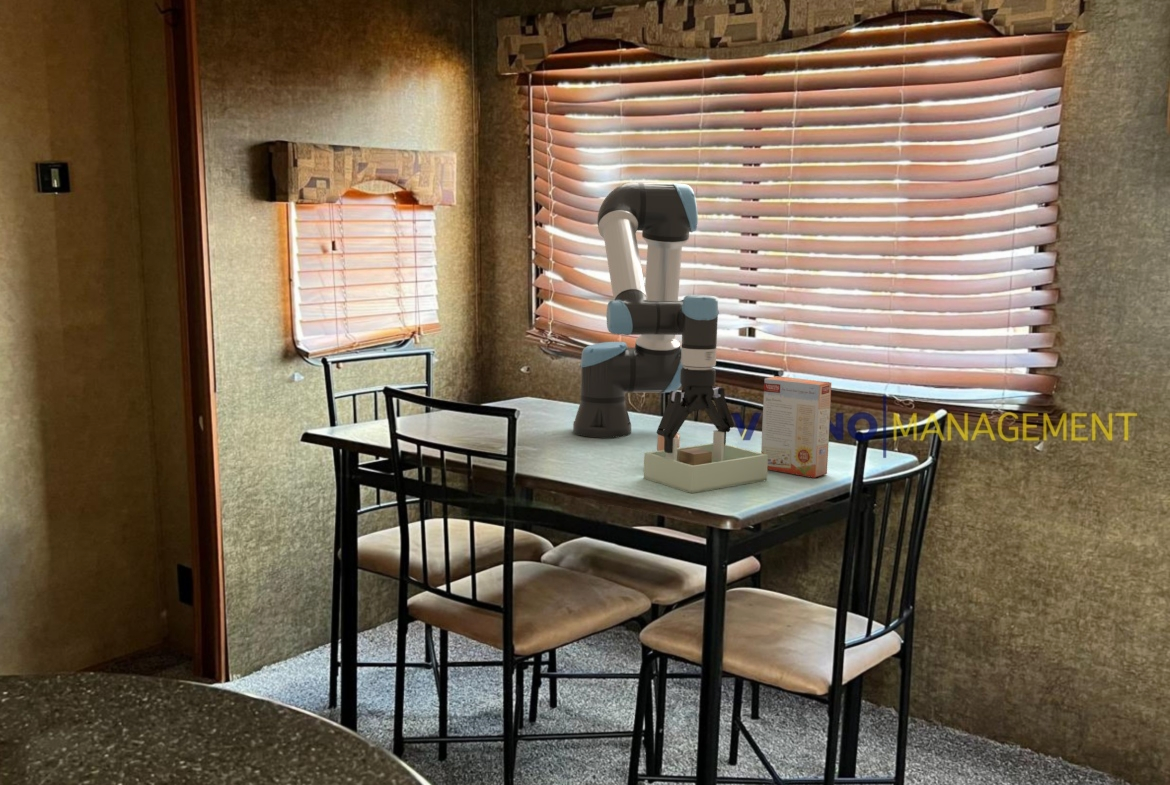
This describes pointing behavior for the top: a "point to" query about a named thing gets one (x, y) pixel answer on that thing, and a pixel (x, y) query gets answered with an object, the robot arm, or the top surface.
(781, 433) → the cracker box
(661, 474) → the sage tote
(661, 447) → the terracotta cylinder
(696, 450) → the walnut cube
